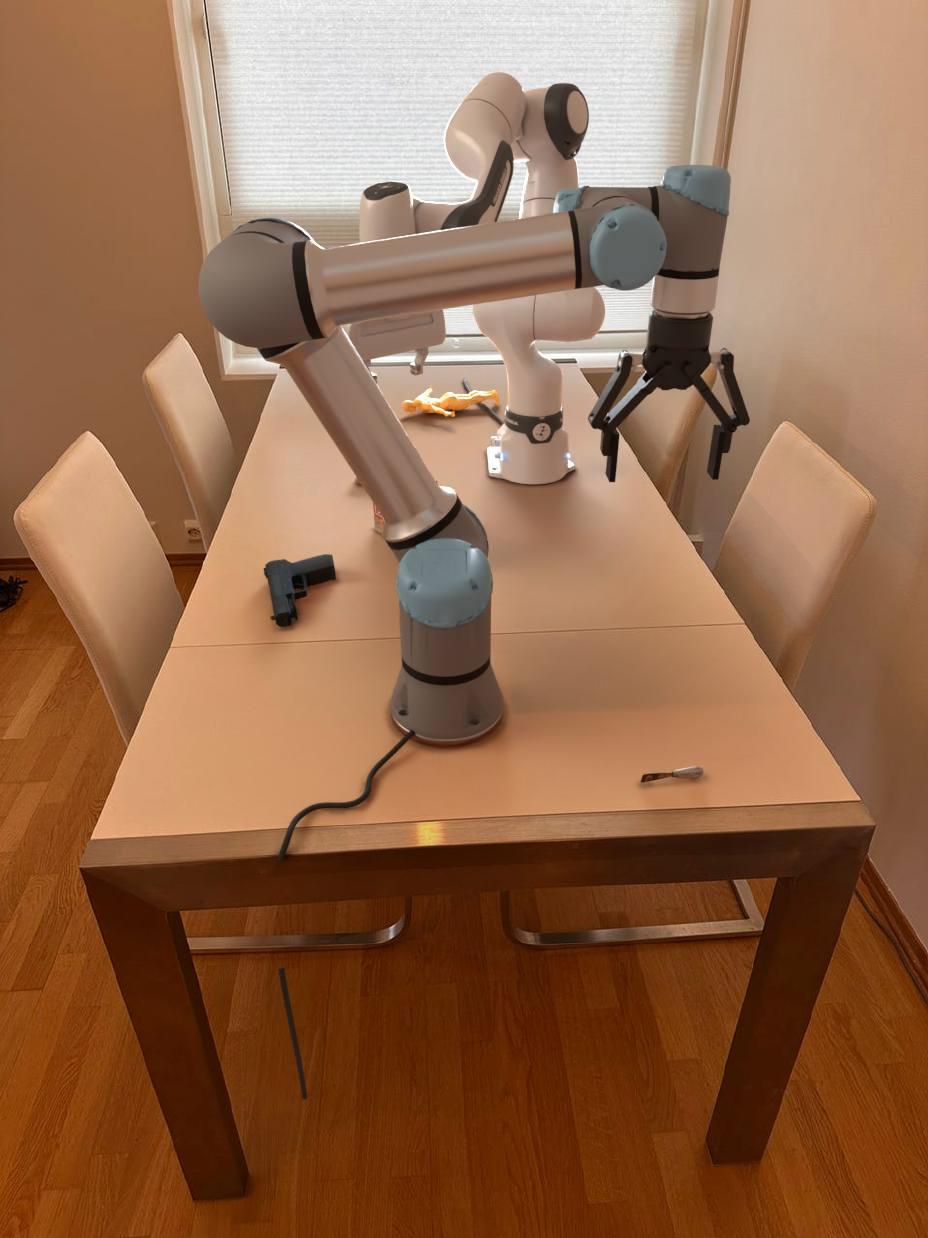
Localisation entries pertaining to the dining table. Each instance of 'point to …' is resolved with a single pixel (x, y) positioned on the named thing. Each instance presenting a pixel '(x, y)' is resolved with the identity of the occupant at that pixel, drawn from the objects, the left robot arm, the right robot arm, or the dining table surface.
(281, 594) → the handgun
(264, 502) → the dining table surface
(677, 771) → the putty knife
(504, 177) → the right robot arm
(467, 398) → the human figure
